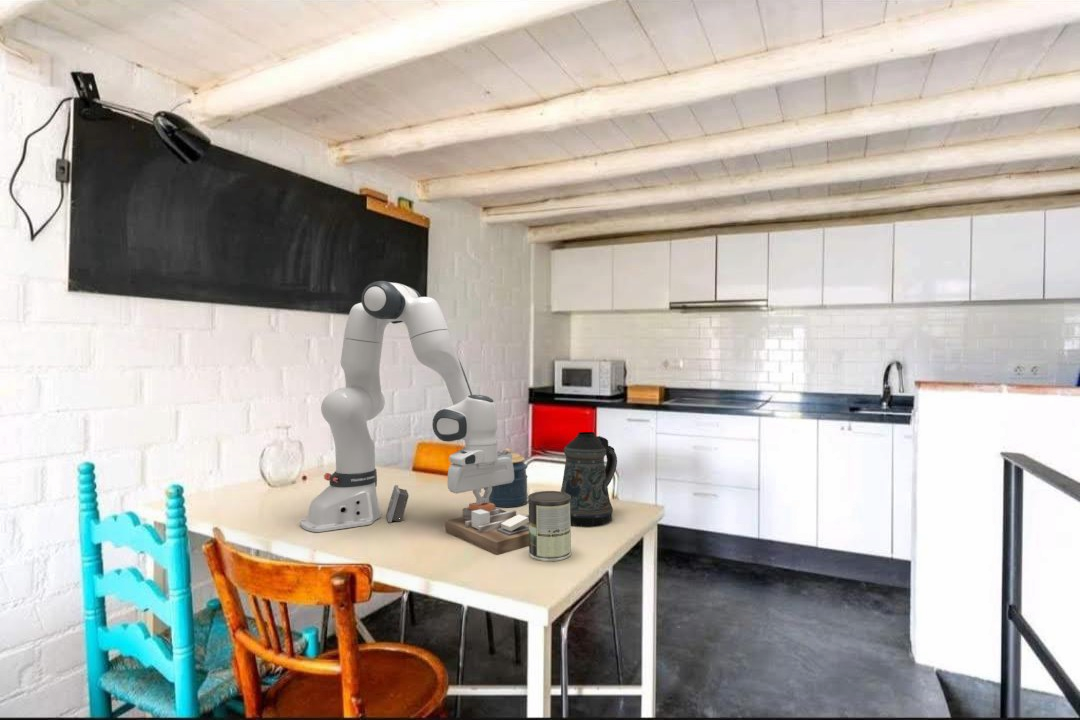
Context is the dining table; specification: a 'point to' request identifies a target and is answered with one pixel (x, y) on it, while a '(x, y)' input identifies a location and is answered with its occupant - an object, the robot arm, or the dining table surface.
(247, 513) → the dining table surface
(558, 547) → the coffee can
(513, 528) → the rocker switch
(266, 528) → the dining table surface
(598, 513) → the beer stein
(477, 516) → the block
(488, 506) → the push button
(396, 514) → the electrical switch
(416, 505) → the dining table surface
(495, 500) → the canister
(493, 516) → the control panel
